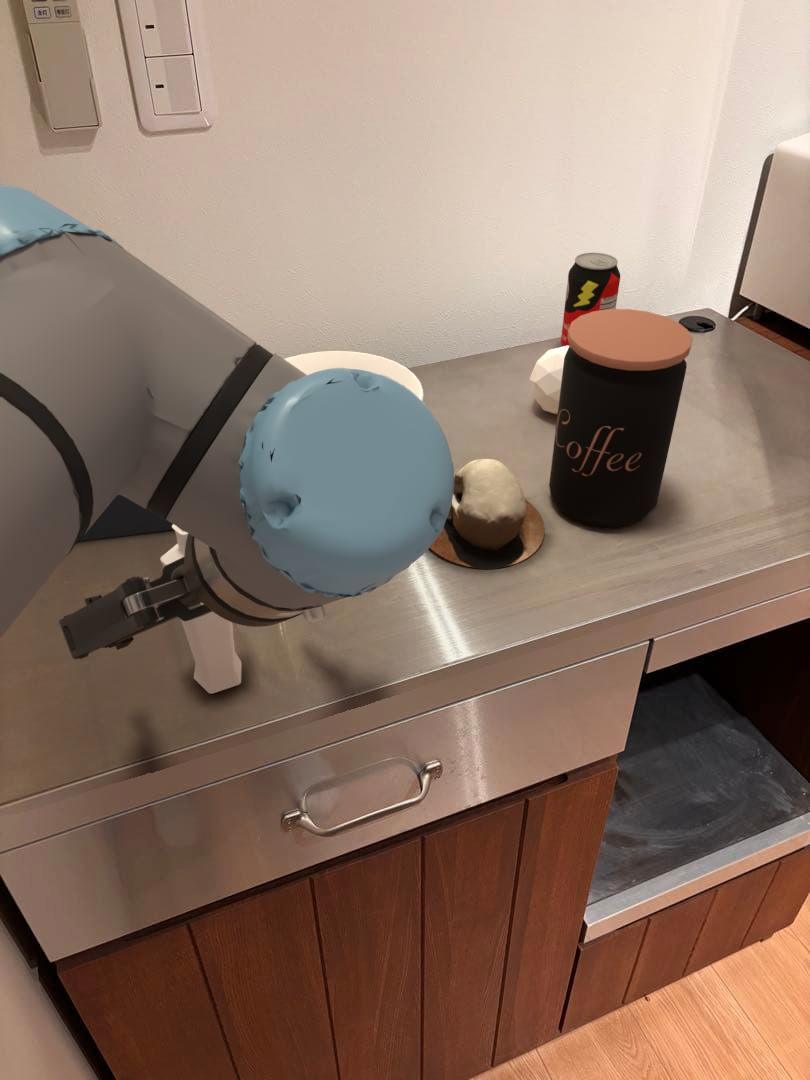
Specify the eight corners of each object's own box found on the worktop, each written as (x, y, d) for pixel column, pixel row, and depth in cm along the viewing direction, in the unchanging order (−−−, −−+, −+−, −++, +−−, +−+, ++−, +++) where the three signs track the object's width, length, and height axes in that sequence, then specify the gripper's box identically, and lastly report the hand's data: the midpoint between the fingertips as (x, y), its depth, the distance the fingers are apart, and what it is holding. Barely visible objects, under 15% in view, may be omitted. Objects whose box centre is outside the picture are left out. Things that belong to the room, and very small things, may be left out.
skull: (394, 494, 85) (463, 417, 81) (466, 538, 90) (533, 468, 87) (426, 567, 75) (505, 483, 72) (504, 611, 81) (580, 535, 78)
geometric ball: (540, 428, 102) (509, 369, 100) (597, 394, 102) (567, 335, 100) (562, 430, 94) (528, 366, 93) (623, 393, 95) (590, 329, 93)
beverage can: (587, 336, 115) (599, 247, 107) (618, 354, 111) (633, 263, 103) (550, 346, 112) (559, 256, 105) (580, 365, 108) (592, 273, 101)
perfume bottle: (261, 674, 68) (236, 524, 58) (214, 704, 65) (181, 552, 56) (228, 644, 70) (199, 496, 61) (182, 672, 68) (145, 522, 59)
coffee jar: (526, 500, 86) (542, 333, 74) (590, 459, 91) (614, 298, 80) (614, 548, 80) (647, 374, 68) (677, 501, 85) (717, 333, 74)
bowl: (223, 420, 98) (215, 370, 94) (383, 386, 104) (381, 337, 100) (272, 515, 84) (264, 460, 80) (453, 469, 90) (455, 417, 86)
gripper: (37, 719, 37) (50, 713, 57) (503, 534, 47) (378, 584, 67) (-23, 559, 37) (11, 608, 57) (453, 408, 47) (342, 494, 67)
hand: (208, 595), depth 62 cm, fingers open, 13 cm apart
